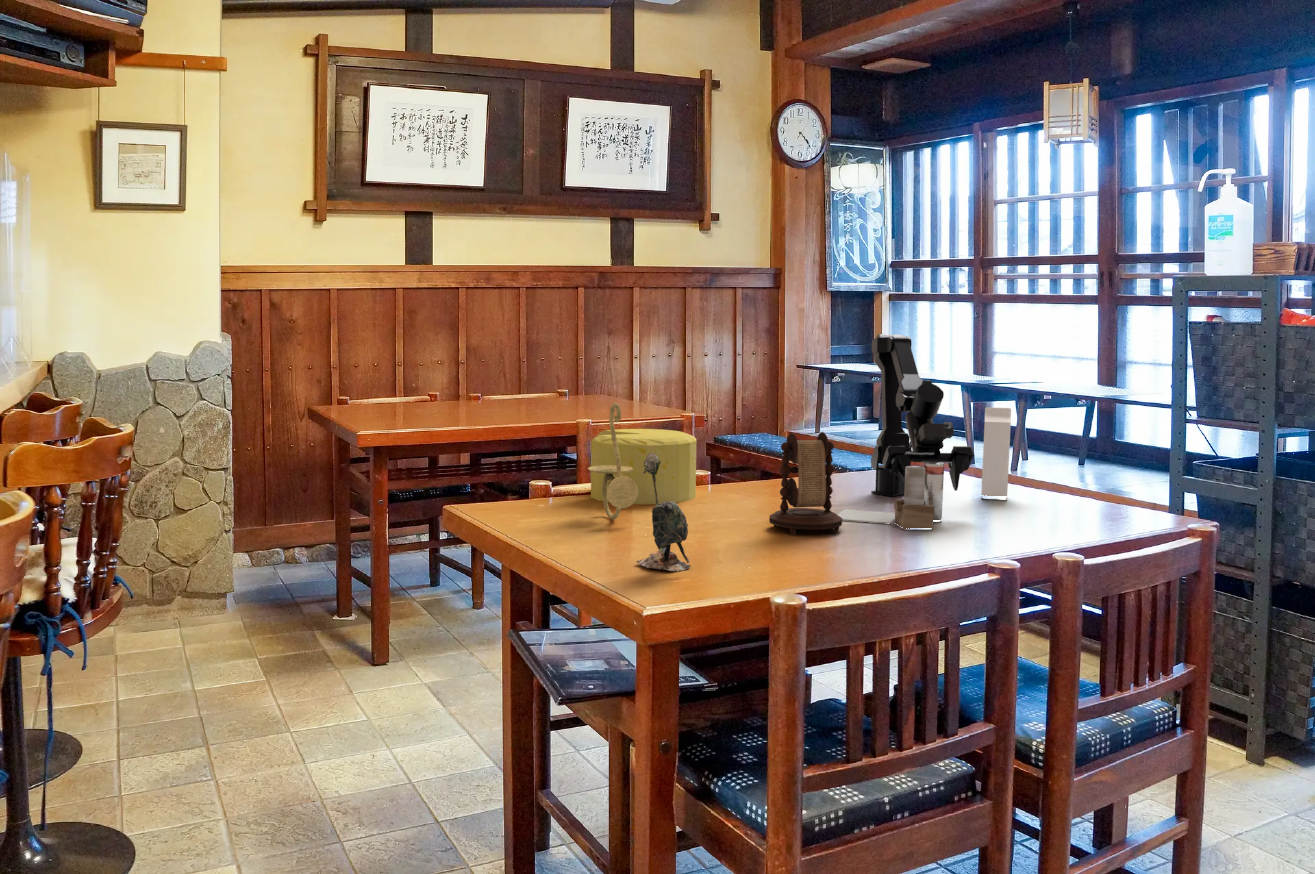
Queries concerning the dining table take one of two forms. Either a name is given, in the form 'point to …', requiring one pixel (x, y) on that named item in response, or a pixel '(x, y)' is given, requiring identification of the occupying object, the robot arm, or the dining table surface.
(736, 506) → the dining table surface
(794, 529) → the beaded wooden stand
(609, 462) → the cheese
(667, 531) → the stone figurine
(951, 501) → the dining table surface
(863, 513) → the grey mat
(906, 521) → the white candle wooden holder
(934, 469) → the silver cylinder copper band
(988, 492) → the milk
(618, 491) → the wall sconce
